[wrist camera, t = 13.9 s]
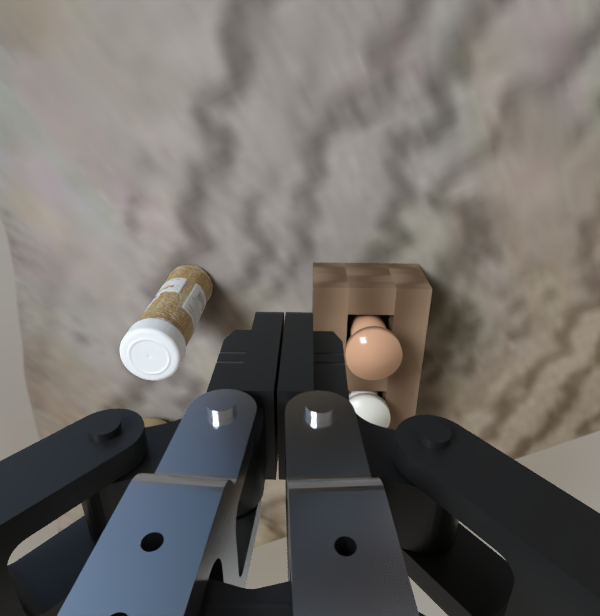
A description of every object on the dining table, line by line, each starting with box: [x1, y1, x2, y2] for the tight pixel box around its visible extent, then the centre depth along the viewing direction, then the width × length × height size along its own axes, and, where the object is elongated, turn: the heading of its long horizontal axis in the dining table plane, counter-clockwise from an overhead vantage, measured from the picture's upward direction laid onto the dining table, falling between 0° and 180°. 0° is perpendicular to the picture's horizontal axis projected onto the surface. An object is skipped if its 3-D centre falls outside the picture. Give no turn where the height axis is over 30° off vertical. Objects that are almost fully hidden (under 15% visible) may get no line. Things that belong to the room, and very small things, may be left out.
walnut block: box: [312, 263, 432, 430], centre depth 48 cm, size 10×25×6 cm, turn 0°
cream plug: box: [348, 391, 390, 428], centre depth 47 cm, size 5×5×7 cm
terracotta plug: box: [345, 314, 403, 380], centre depth 42 cm, size 5×5×7 cm
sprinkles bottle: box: [120, 265, 213, 380], centre depth 41 cm, size 5×5×13 cm
